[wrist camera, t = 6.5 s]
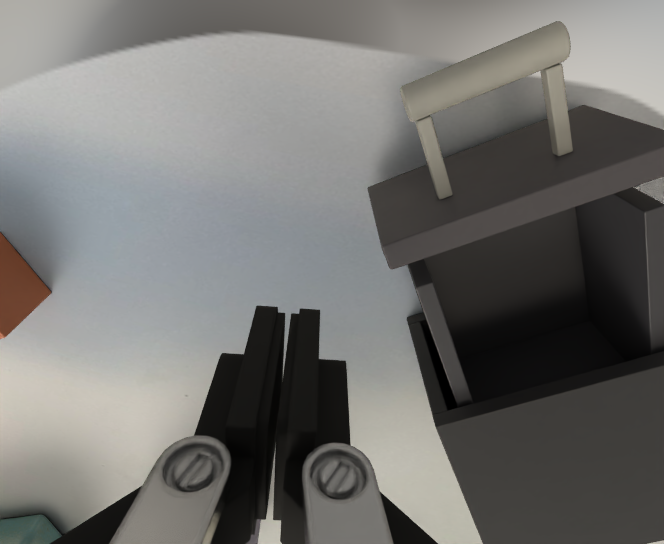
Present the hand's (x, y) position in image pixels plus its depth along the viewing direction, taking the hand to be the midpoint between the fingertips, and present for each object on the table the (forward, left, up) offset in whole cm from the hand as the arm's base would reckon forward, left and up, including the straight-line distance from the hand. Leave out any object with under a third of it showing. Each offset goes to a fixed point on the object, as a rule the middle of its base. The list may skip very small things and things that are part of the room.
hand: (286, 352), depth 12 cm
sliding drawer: (+1, +10, -14) cm, 17 cm away
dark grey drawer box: (+12, +16, -14) cm, 25 cm away
